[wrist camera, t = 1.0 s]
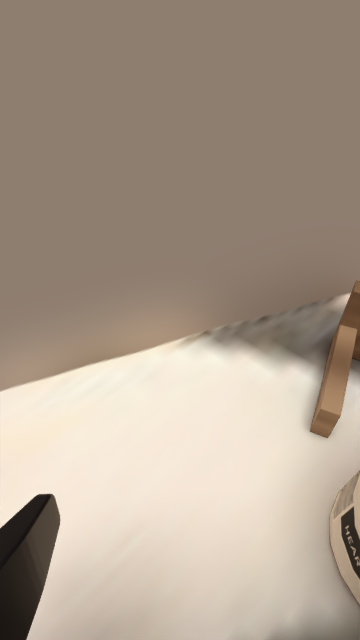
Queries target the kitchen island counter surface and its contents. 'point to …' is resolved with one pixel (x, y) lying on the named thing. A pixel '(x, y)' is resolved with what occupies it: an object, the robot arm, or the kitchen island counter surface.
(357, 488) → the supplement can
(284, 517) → the kitchen island counter surface
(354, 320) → the walnut dock
